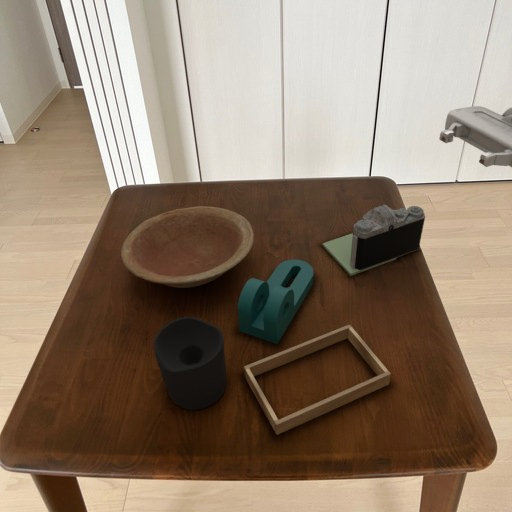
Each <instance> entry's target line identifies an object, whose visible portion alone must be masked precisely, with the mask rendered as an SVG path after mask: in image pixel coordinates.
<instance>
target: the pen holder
mask: <svg viewBox="0 0 512 512" xmlns="http://www.w3.org/2000/svg"><path fill="white" fill-rule="evenodd" d="M224 342H225V341H224V333H223V332H222V329H221V328H220V327H219V326H218V325H215V324H212V323H209V322H208V321H205V320H203V319H200V318H197V317H194V316H182V317H177V318H176V319H174V320H171V321H170V322H168V323H167V324H165V325H164V326H163V327H162V328H160V329H159V331H158V332H157V334H156V336H155V338H154V342H153V352H154V353H153V354H154V356H155V359H156V361H157V366H158V368H159V371H160V374H161V377H162V380H163V384H164V386H165V389H166V392H167V394H168V396H169V398H170V400H171V401H172V402H173V403H174V404H175V405H176V406H178V407H179V408H181V409H185V410H190V411H196V410H203V409H207V408H208V407H210V406H213V405H214V404H215V403H216V402H218V401H219V400H220V398H222V396H223V394H224V393H225V390H226V387H227V368H226V367H227V366H226V356H225V355H226V354H225V353H226V352H225V343H224Z"/></svg>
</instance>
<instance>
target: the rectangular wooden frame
mask: <svg viewBox="0 0 512 512" xmlns="http://www.w3.org/2000/svg"><path fill="white" fill-rule="evenodd" d="M345 340H348V341H349V342H350V343H351V345H352V346H353V347H354V349H355V350H356V351H357V353H359V355H360V356H361V357H362V358H363V360H364V361H365V362H366V363H367V365H368V366H369V367H370V368H371V369H372V371H373V372H374V373H375V375H376V376H374V377H372V378H370V379H367V380H365V381H362V382H360V383H358V384H356V385H353V386H352V387H349V388H346V389H344V390H343V391H340V392H338V393H335V394H333V395H331V396H329V397H327V398H324V399H322V400H320V401H318V402H316V403H313V404H310V405H308V406H306V407H304V408H302V409H299V410H297V411H295V412H292V413H290V414H288V415H285V416H284V417H282V418H278V417H277V415H276V414H275V413H276V412H275V411H274V410H273V408H272V406H271V404H270V403H269V401H268V399H267V397H266V396H265V394H264V392H263V389H262V388H261V386H260V385H259V383H258V382H257V380H256V378H255V377H257V376H259V375H262V374H264V373H267V372H269V371H272V370H274V369H276V368H279V367H281V366H283V365H286V364H289V363H291V362H293V361H296V360H298V359H301V358H303V357H305V356H308V355H310V354H313V353H315V352H318V351H320V350H323V349H325V348H328V347H330V346H333V345H336V344H337V343H340V342H342V341H345ZM243 372H244V378H245V380H246V382H247V384H248V385H249V387H250V389H251V391H252V393H253V395H254V397H255V399H256V400H257V402H258V404H259V406H260V408H261V409H262V411H263V413H264V415H265V417H266V419H267V420H268V422H269V424H270V425H271V427H272V430H273V432H274V433H275V434H276V436H278V435H280V434H283V433H284V432H287V431H289V430H291V429H294V428H296V427H298V426H300V425H303V424H305V423H307V422H309V421H312V420H313V419H315V418H318V417H321V416H322V415H325V414H327V413H329V412H331V411H334V410H336V409H338V408H340V407H342V406H344V405H347V404H349V403H351V402H353V401H355V400H358V399H361V398H362V397H365V396H367V395H369V394H372V393H373V392H375V391H378V390H380V389H383V388H384V387H387V386H389V385H390V381H391V376H392V373H391V372H390V371H389V369H387V367H386V366H385V364H383V362H382V361H381V360H380V359H379V358H378V357H377V355H376V354H375V353H374V352H373V351H372V349H371V348H370V347H369V346H368V344H367V343H366V342H365V341H364V340H363V338H362V337H361V336H360V335H359V333H357V331H356V330H355V329H354V328H353V326H352V325H351V324H347V325H345V326H341V327H339V328H337V329H335V330H332V331H329V332H327V333H324V334H321V335H320V336H319V335H318V336H317V337H314V338H312V339H310V340H307V341H304V342H301V343H300V344H296V345H294V346H292V347H288V348H287V349H284V350H282V351H280V352H277V353H274V354H272V355H269V356H266V357H263V358H262V359H259V360H257V361H254V362H251V363H249V364H247V365H244V366H243Z"/></svg>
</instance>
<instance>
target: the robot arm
mask: <svg viewBox="0 0 512 512" xmlns="http://www.w3.org/2000/svg"><path fill="white" fill-rule="evenodd" d="M454 138H458V139H460V140H462V141H463V142H465V143H467V144H469V145H470V146H473V147H474V148H476V149H478V150H480V152H481V151H482V152H483V153H481V154H480V155H479V160H478V163H479V164H480V165H482V166H484V167H485V168H488V167H492V166H499V167H500V166H501V167H510V168H512V106H511V107H509V108H507V109H506V110H505V111H504V112H503V113H502V114H500V113H498V112H495V111H493V110H491V109H490V108H487V107H484V106H481V105H480V106H479V105H478V106H477V105H475V106H466V107H460V108H455V109H452V110H450V111H448V113H447V115H446V118H445V124H444V130H442V131H441V132H440V133H439V141H441V142H443V143H444V144H448V143H453V142H454Z"/></svg>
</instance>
